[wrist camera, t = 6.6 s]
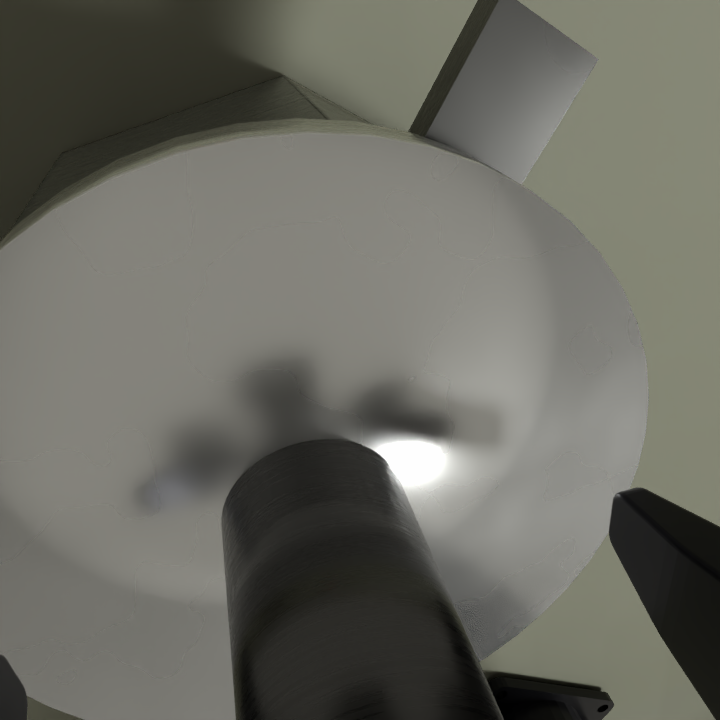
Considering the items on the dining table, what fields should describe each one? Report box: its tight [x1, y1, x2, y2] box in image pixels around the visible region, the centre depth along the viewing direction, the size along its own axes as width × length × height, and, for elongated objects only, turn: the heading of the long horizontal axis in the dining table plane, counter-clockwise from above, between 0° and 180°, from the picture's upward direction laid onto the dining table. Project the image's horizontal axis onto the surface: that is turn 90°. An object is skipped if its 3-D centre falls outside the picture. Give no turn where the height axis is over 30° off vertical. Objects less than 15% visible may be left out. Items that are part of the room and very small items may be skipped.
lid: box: [0, 118, 649, 720], centre depth 10 cm, size 12×12×6 cm
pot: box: [10, 0, 598, 231], centre depth 14 cm, size 11×16×5 cm
